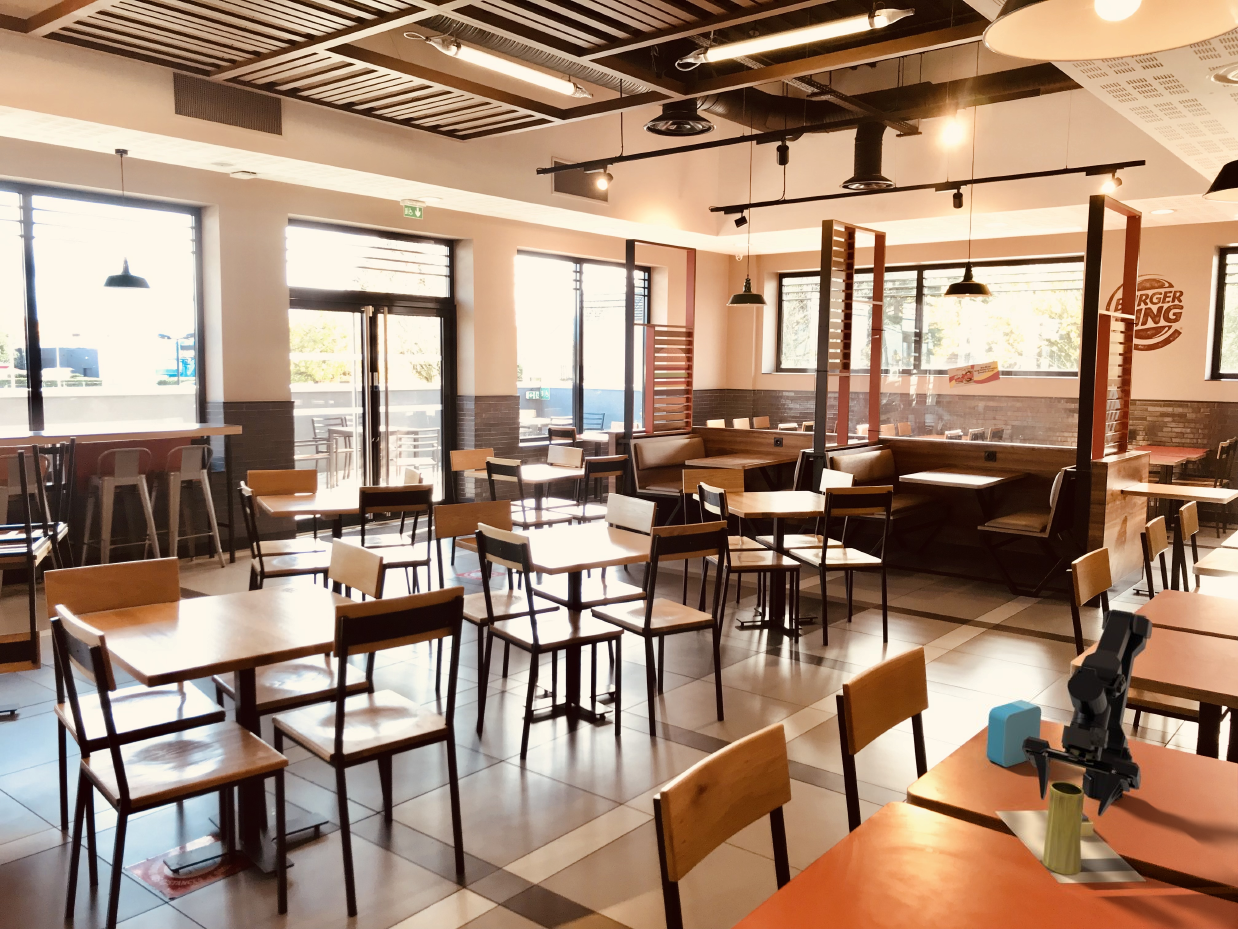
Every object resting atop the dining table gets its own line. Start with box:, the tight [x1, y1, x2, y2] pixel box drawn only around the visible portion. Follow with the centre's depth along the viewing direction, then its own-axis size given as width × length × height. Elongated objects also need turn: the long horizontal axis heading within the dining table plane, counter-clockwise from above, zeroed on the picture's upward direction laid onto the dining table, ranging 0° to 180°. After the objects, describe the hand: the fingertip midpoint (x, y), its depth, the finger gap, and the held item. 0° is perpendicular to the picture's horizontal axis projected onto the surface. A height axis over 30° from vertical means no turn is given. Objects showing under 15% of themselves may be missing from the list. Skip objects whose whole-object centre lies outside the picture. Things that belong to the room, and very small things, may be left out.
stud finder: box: [1081, 812, 1094, 836], centre depth 174 cm, size 7×4×3 cm, turn 3°
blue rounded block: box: [986, 699, 1042, 768], centre depth 203 cm, size 12×4×12 cm, turn 120°
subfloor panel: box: [995, 809, 1147, 884], centre depth 168 cm, size 15×24×1 cm, turn 3°
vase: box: [1042, 780, 1085, 875], centre depth 160 cm, size 6×6×14 cm
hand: (1070, 807), depth 162 cm, fingers open, 9 cm apart
